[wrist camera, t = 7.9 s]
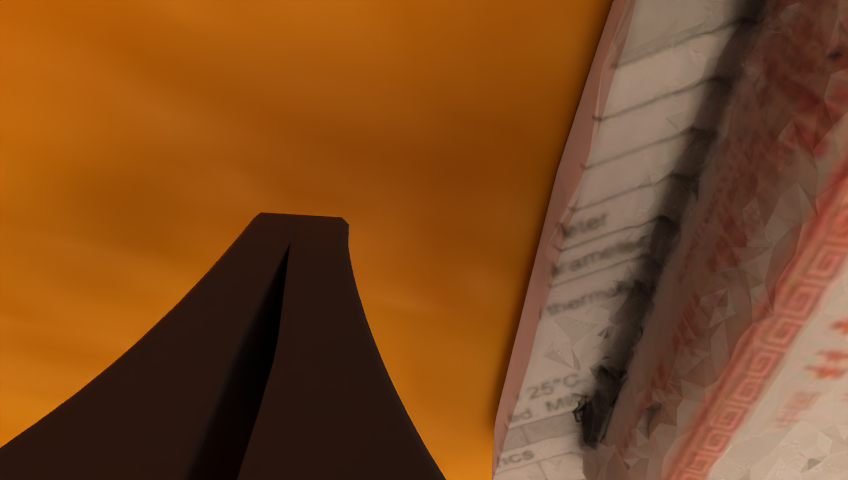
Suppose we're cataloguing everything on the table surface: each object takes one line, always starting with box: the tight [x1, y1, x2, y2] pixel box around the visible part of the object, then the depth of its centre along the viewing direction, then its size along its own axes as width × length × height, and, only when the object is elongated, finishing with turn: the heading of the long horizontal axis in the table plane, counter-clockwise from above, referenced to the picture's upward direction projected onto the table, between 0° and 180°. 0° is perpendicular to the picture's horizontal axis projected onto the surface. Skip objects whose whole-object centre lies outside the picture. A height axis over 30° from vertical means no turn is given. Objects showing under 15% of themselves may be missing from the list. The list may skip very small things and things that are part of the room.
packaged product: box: [492, 0, 848, 480], centre depth 12 cm, size 18×5×10 cm
